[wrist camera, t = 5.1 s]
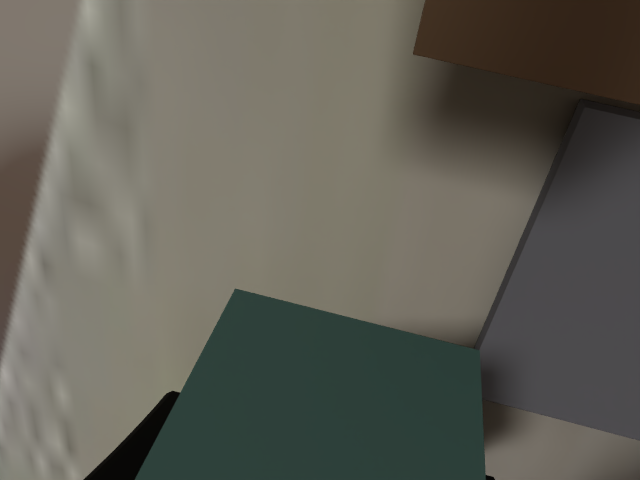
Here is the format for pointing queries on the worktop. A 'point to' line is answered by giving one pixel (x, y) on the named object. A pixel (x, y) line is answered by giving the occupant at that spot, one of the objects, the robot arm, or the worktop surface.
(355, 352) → the teal block
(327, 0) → the worktop surface
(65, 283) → the worktop surface
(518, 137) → the worktop surface
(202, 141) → the worktop surface
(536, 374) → the mat
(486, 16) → the walnut block
